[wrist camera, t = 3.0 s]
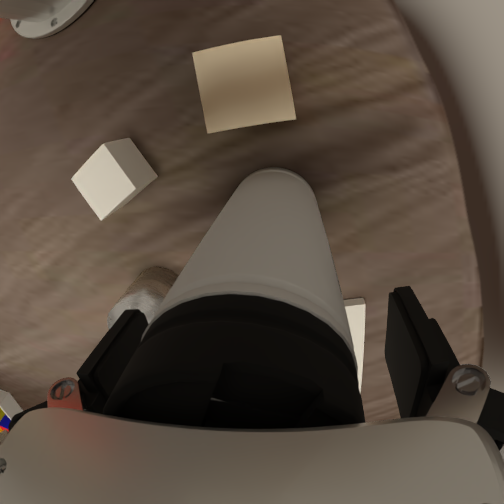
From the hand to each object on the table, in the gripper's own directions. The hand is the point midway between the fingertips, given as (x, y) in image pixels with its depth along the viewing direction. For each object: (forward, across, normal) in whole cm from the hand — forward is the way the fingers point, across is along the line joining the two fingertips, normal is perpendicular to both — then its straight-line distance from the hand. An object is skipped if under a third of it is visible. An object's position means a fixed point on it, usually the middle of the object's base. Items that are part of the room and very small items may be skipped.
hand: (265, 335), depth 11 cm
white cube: (+14, +12, -6) cm, 19 cm away
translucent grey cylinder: (+14, +12, +5) cm, 19 cm away
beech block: (+14, 0, -10) cm, 17 cm away
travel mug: (+14, 0, -1) cm, 14 cm away
